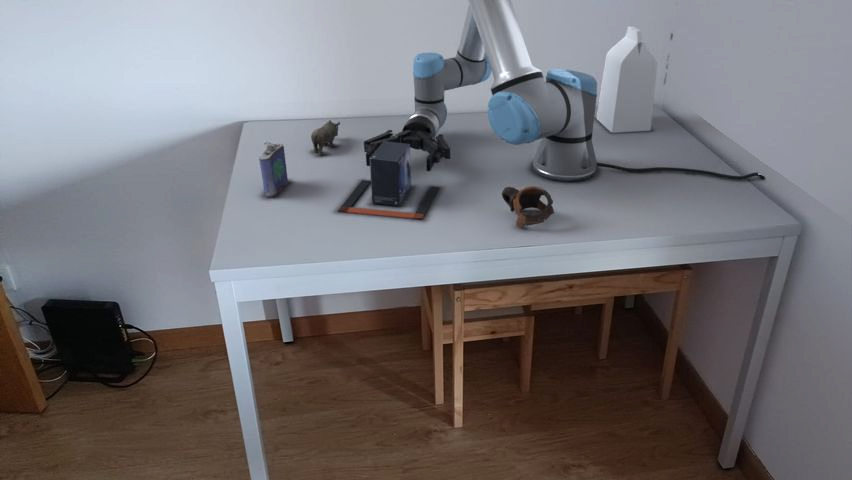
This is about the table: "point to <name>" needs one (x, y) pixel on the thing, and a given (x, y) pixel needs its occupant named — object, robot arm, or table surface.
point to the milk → (628, 85)
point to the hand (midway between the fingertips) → (397, 162)
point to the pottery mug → (528, 204)
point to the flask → (273, 169)
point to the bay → (418, 215)
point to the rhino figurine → (324, 136)
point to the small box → (390, 173)
